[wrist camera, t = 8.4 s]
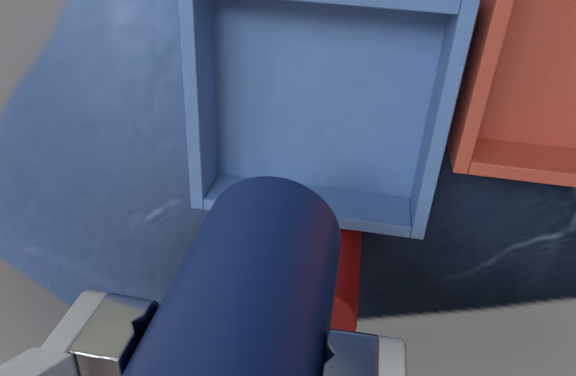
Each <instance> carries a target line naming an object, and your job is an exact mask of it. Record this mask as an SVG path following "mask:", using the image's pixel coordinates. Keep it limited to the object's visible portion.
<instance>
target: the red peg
mask: <svg viewBox="0 0 576 376" xmlns="http://www.w3.org/2000/svg"><path fill="white" fill-rule="evenodd" d="M340 233H341V245H340V254H339V262H338V271H337V279H336V288H335V296H334V304H333V313H332V321H331V328H333V329H340V330H346V331H353V332H355V331H356V325H357V311H358V296H359V281H360V266H361V251H362V236H363V231H355V230H348V229H341V228H340Z"/></svg>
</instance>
